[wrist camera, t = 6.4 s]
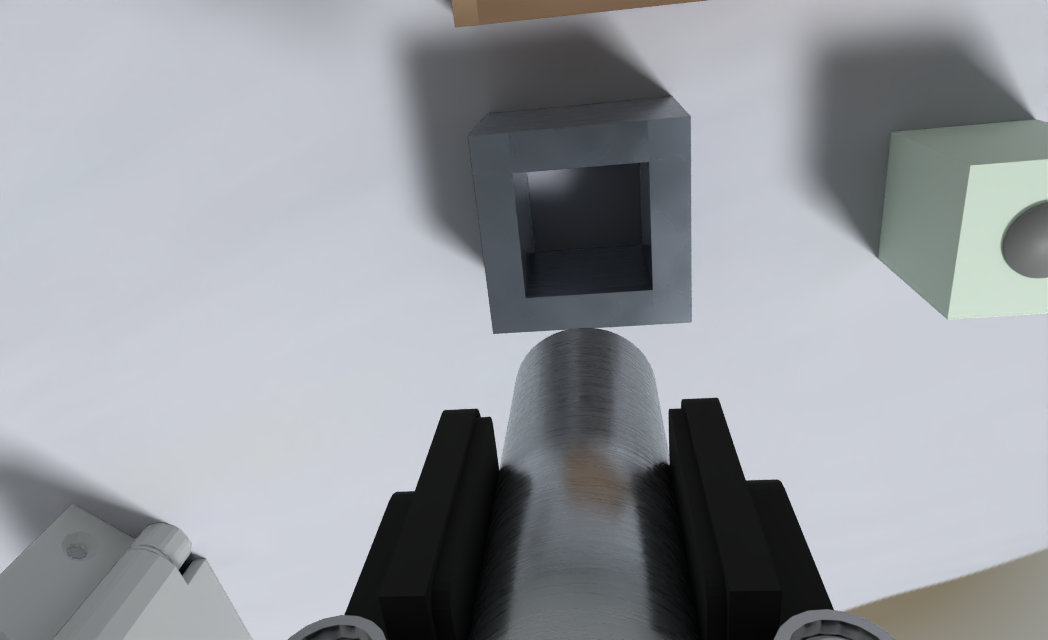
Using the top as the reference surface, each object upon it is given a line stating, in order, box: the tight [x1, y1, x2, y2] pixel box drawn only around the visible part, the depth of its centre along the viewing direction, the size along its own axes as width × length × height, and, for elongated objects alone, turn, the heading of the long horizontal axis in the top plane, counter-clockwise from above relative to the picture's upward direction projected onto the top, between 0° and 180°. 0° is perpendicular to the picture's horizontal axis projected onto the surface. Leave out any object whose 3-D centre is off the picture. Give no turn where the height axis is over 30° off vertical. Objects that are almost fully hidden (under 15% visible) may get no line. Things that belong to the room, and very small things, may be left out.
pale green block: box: [878, 119, 1048, 320], centre depth 24 cm, size 5×5×6 cm
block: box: [468, 96, 692, 334], centre depth 26 cm, size 7×7×5 cm
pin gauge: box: [468, 328, 701, 640], centre depth 10 cm, size 3×3×10 cm
